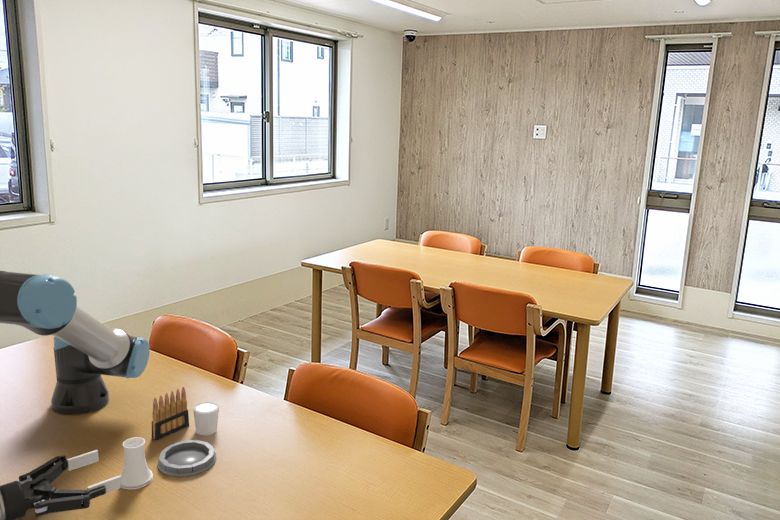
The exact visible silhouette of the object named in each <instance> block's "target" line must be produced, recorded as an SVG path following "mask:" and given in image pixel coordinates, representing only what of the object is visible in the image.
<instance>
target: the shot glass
mask: <svg viewBox="0 0 780 520" xmlns="http://www.w3.org/2000/svg"><path fill="white" fill-rule="evenodd" d="M192 411H193V418H194V426H195V432H196V434H197V435H199V436H210V435H213V434H215V433H216V432H217V431H218V424H219V423H218V422H219V421H218V420H219V412H220V404H218V403H217V402H213V401H204V402H199V403H197V404H196V405H194V406H193V408H192Z"/></svg>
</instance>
